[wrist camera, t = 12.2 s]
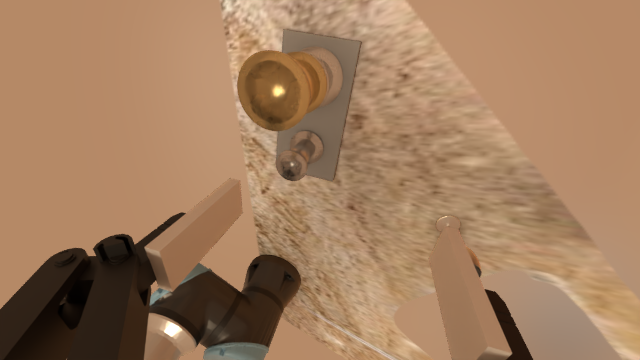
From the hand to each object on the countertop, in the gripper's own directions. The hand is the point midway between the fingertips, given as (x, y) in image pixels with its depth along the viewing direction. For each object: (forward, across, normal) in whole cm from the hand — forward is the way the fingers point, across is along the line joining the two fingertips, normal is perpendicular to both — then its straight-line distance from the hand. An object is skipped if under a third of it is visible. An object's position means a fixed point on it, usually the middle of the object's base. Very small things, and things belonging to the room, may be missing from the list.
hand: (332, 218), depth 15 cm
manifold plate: (+29, +9, +1) cm, 31 cm away
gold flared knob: (+20, +9, -5) cm, 22 cm away
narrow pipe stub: (+28, +9, +7) cm, 30 cm away
